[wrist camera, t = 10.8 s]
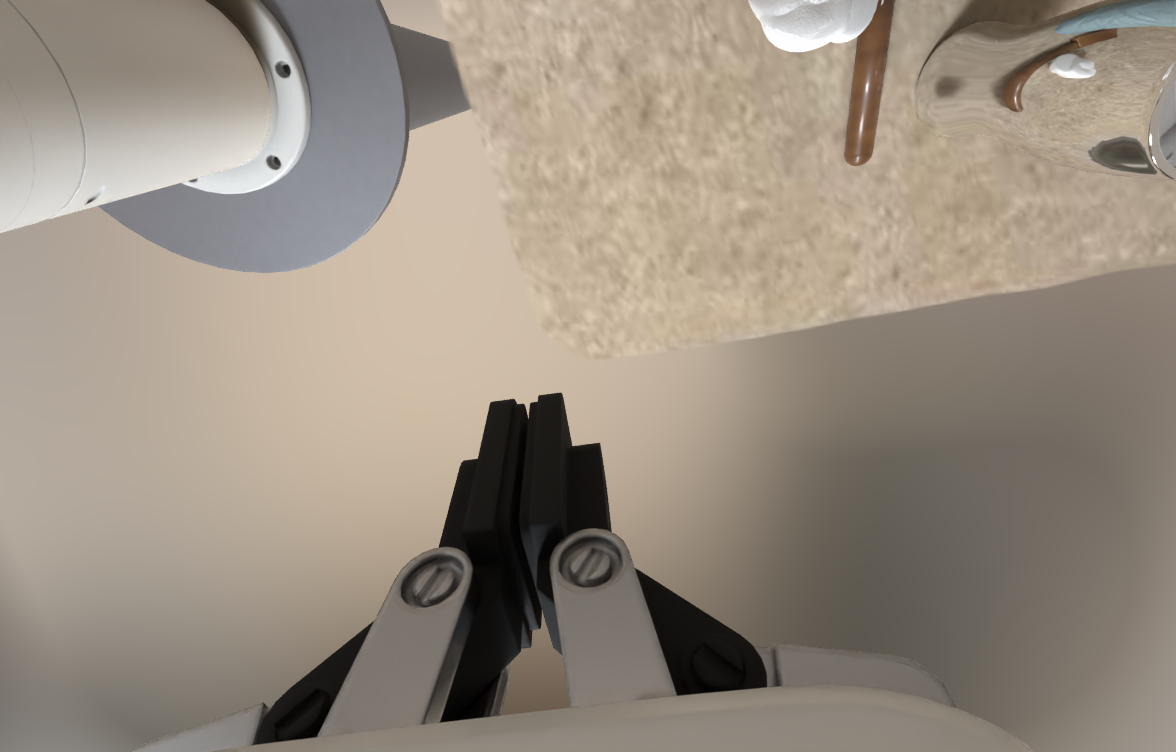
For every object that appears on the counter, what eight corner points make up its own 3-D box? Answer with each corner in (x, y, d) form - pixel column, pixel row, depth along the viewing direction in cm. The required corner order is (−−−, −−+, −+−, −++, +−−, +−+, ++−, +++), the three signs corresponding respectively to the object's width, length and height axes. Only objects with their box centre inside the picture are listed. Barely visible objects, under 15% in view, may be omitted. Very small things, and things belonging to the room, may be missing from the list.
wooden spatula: (875, 160, 33) (889, 163, 32) (826, 167, 33) (837, 171, 32) (931, -218, 24) (953, -236, 23) (864, -207, 24) (882, -224, 23)
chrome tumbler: (1046, 70, 31) (1396, 67, 18) (945, 168, 33) (1186, 225, 21) (987, -19, 28) (1341, -98, 15) (883, 93, 31) (1111, 106, 18)
